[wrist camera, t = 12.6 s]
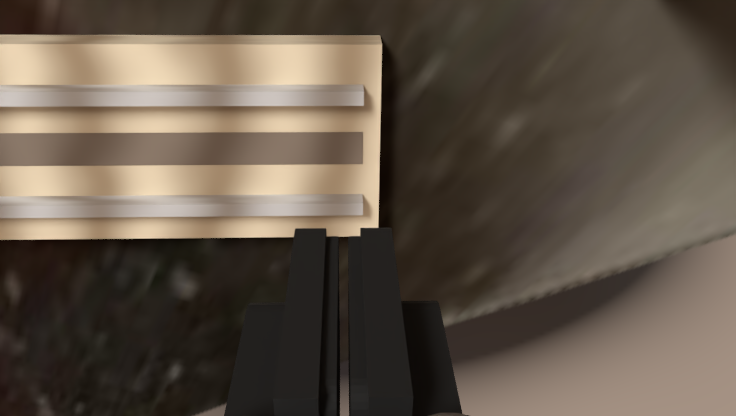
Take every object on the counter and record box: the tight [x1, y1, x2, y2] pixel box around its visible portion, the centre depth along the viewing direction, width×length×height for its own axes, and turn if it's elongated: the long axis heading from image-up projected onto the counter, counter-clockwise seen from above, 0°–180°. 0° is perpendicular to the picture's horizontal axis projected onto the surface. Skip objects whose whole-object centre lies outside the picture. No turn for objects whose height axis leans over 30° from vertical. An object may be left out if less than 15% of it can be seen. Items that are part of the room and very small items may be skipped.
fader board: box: [0, 35, 382, 240], centre depth 37 cm, size 34×12×3 cm, turn 89°
